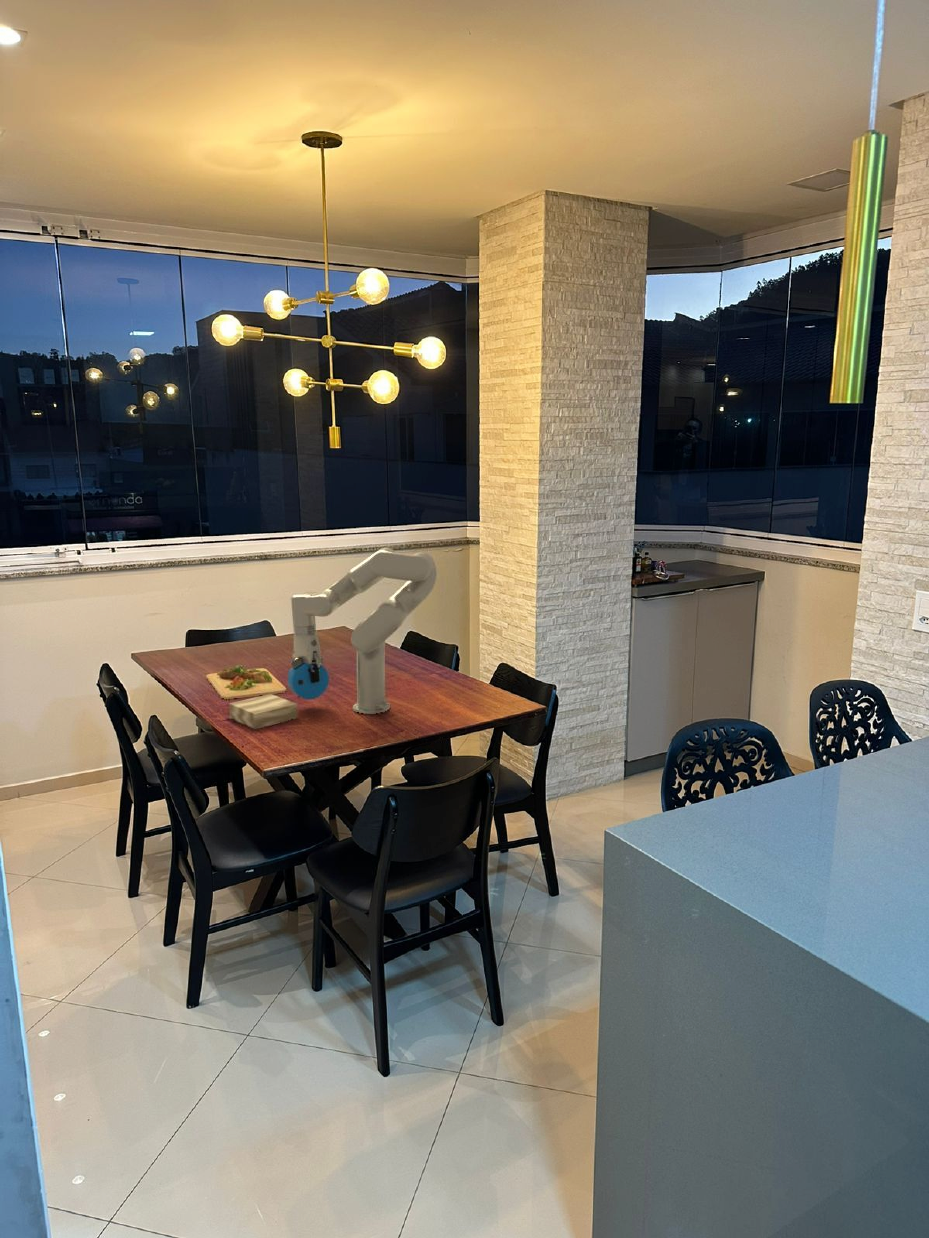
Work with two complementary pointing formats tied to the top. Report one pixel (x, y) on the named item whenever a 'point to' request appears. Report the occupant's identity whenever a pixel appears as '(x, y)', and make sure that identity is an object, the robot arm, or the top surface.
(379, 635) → the robot arm
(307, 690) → the alarm clock
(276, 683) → the cutting board
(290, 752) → the top surface
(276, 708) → the wooden box
